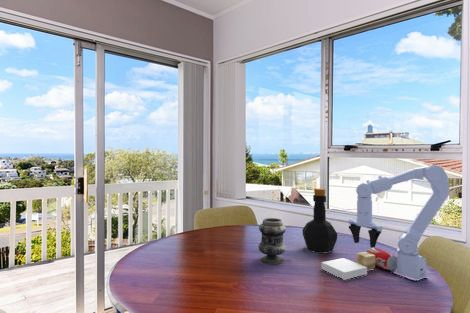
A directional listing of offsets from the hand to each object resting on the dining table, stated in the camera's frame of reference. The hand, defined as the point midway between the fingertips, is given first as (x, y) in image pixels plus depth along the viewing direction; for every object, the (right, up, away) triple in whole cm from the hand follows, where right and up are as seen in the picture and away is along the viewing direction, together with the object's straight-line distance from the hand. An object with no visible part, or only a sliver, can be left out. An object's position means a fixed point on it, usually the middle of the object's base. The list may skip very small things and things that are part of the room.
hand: (364, 244), depth 124 cm
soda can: (+6, -6, +7) cm, 11 cm away
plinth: (-10, -9, -5) cm, 15 cm away
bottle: (-12, -10, +24) cm, 29 cm away
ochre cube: (0, -10, -1) cm, 10 cm away
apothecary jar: (-37, -9, +8) cm, 39 cm away
